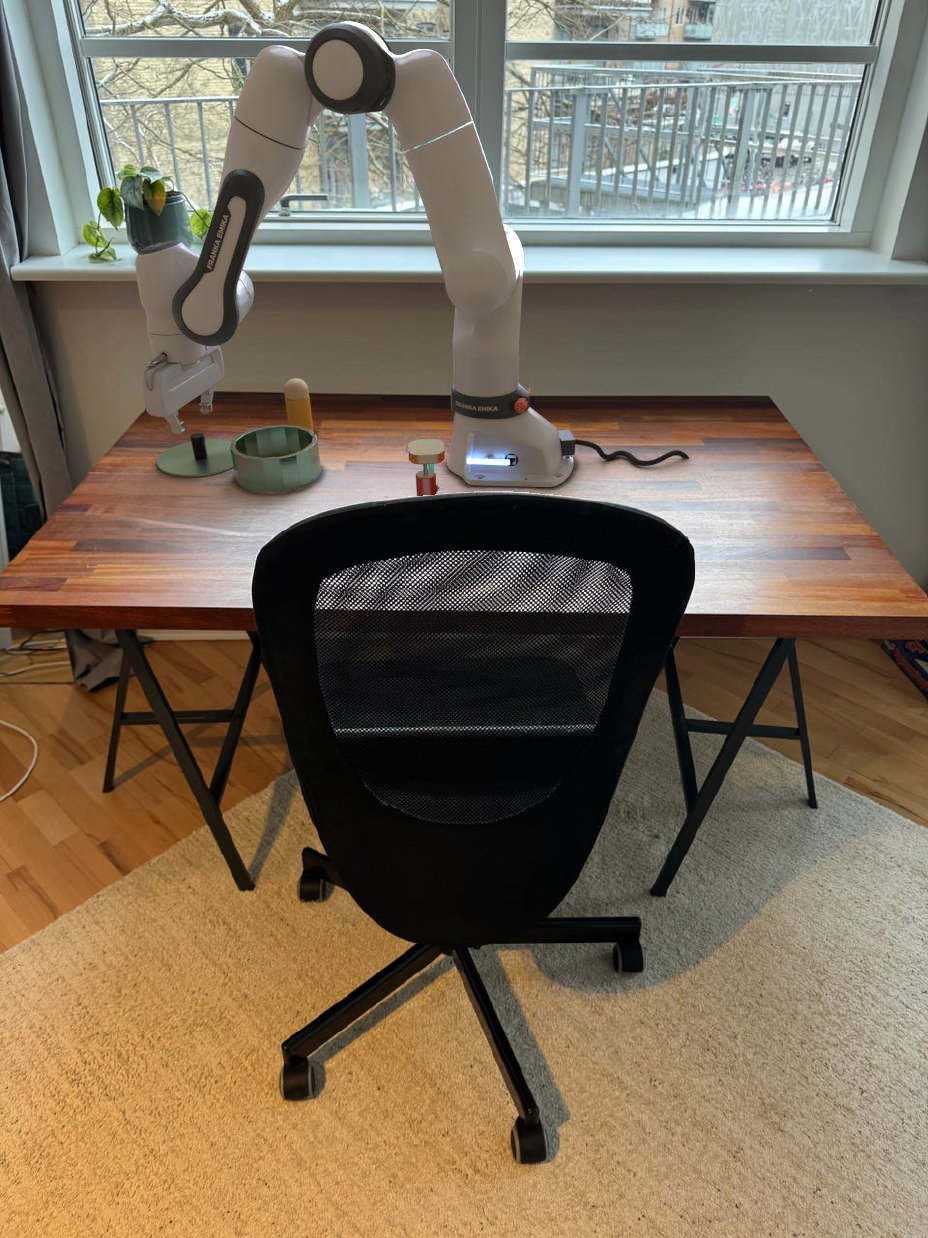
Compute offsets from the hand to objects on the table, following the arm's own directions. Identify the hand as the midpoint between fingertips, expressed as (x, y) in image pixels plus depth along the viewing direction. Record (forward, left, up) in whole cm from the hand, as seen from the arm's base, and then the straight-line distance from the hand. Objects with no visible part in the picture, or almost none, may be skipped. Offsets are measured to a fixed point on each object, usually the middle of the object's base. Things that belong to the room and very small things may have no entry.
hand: (193, 422), depth 157 cm
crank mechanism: (-50, +17, -8) cm, 53 cm away
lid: (0, 0, -7) cm, 7 cm away
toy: (-13, -16, -8) cm, 22 cm away
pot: (-17, +2, -8) cm, 18 cm away
